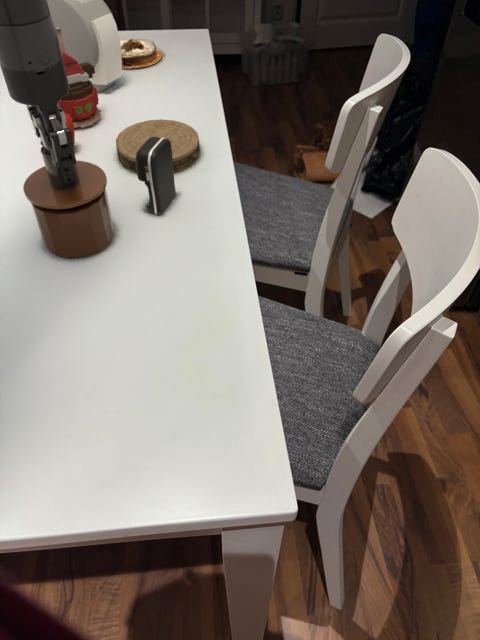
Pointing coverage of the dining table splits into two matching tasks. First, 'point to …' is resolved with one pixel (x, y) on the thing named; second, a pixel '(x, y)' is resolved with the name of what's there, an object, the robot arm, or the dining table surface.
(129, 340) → the dining table surface
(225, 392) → the dining table surface
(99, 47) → the alarm clock
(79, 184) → the crock lid
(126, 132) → the wood log slice
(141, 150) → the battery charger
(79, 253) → the crock
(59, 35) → the cake
